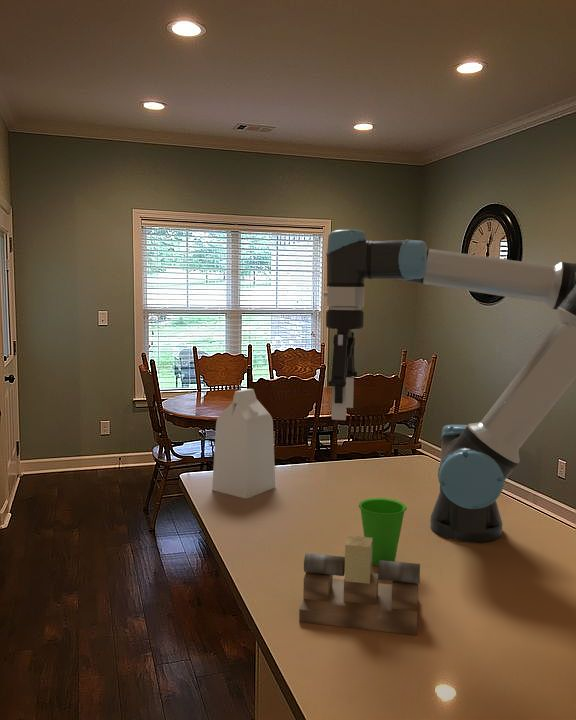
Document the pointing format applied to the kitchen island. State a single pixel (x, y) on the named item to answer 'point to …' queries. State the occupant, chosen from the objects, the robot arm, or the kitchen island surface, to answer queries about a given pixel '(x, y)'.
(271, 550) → the kitchen island surface
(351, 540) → the wooden block
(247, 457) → the milk
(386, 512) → the cup
